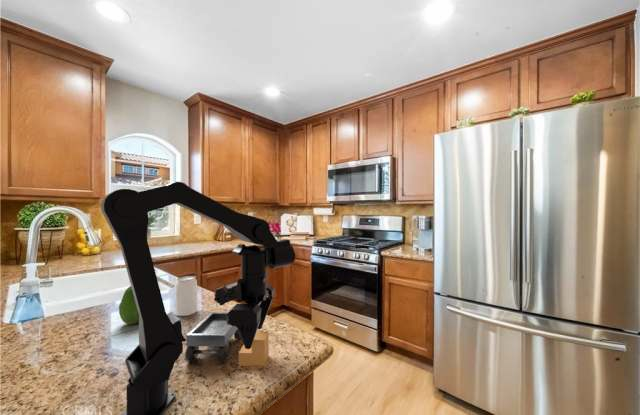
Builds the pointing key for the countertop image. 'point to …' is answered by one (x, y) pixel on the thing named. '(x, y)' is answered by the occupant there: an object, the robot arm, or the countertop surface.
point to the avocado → (128, 308)
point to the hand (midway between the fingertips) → (254, 337)
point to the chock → (255, 351)
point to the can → (186, 296)
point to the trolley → (211, 337)
